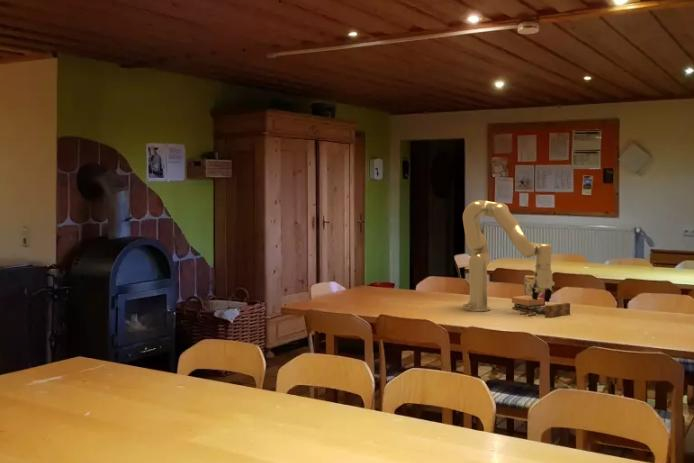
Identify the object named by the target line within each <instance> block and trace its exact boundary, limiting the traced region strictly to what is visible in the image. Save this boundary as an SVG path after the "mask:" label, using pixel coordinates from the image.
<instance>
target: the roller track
mask: <svg viewBox="0 0 694 463" xmlns="http://www.w3.org/2000/svg"><path fill="white" fill-rule="evenodd" d="M513 305H514V306H512V307H511V308H512V309H513V310H517V311H522V312H525V313H526V312H529V313H530V314H534V312H536V308H538V307H542V305H532V306H526V305H521V304H516V303H513ZM542 314H543V315H544V316H545V308H544V309H543V313H542Z"/></svg>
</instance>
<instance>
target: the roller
mask: <svg viewBox="0 0 694 463" xmlns="http://www.w3.org/2000/svg"><path fill="white" fill-rule="evenodd" d="M544 308H545V306H541V307H538V308H536V311H535V314H536V315H541V314H543V309H544Z"/></svg>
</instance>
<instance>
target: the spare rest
mask: <svg viewBox="0 0 694 463" xmlns="http://www.w3.org/2000/svg"><path fill="white" fill-rule="evenodd" d="M520 315H521V316H525V315H527V317H530V318H531V317H536V316H537V313H530V312H526V311H525V312H521V313H520Z"/></svg>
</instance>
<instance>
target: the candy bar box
mask: <svg viewBox="0 0 694 463" xmlns="http://www.w3.org/2000/svg"><path fill="white" fill-rule="evenodd" d="M533 279H534V275H524V284H523V285H524V287H523V288H524V290H523V291H524V293H523V296H526V295H527V296H532V295H533V292H532V290H531V287H530V283H532V282H533ZM535 290H536V289H535ZM537 292H538V298H544V304H540V305H541V306H546V289H538V291H537Z"/></svg>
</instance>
